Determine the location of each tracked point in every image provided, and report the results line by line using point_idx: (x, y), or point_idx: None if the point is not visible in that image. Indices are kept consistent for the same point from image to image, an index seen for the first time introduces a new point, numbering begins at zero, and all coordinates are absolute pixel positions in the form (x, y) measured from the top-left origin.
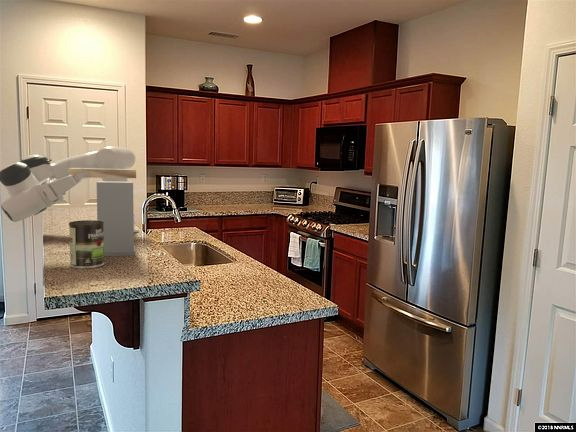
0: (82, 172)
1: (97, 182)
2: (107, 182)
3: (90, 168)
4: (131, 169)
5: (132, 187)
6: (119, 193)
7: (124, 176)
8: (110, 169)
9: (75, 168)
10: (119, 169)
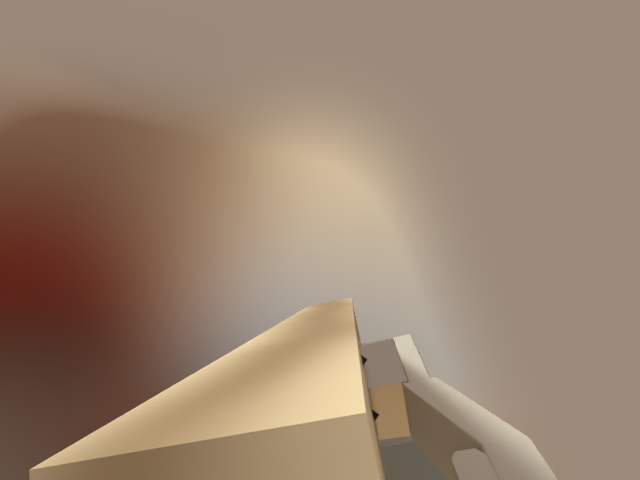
0: (429, 376)
1: (380, 444)
2: None
3: (252, 341)
4: (313, 306)
5: None
6: None
7: (359, 337)
8: (352, 306)
9: (320, 365)
10: (341, 304)
